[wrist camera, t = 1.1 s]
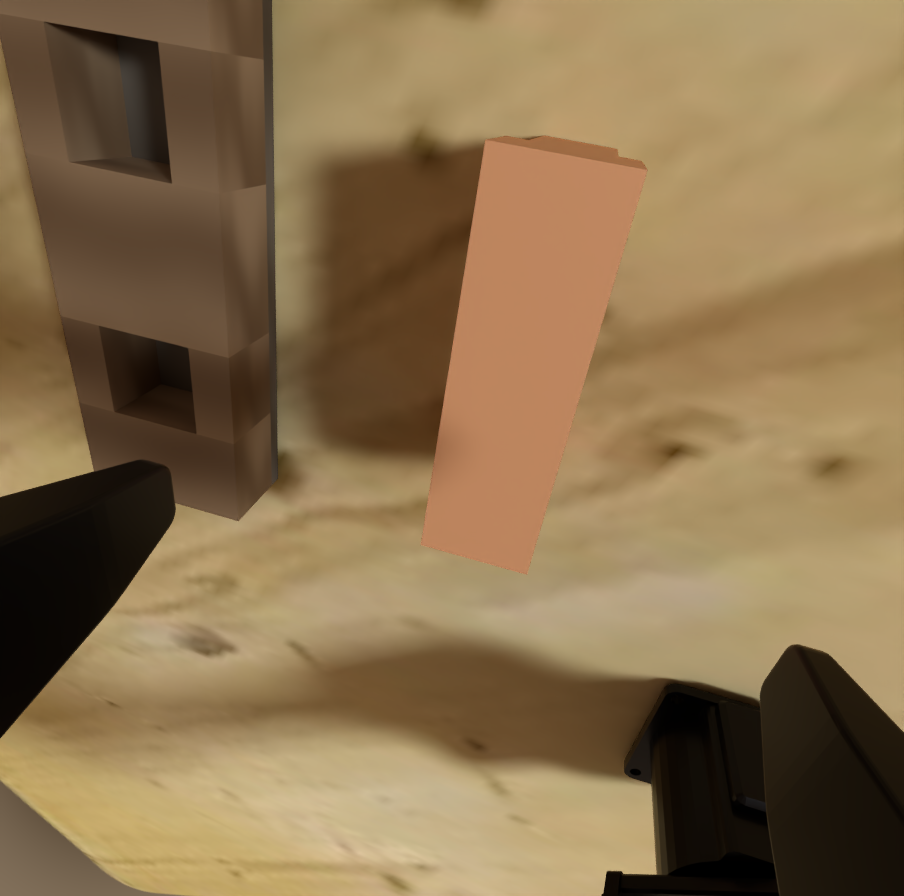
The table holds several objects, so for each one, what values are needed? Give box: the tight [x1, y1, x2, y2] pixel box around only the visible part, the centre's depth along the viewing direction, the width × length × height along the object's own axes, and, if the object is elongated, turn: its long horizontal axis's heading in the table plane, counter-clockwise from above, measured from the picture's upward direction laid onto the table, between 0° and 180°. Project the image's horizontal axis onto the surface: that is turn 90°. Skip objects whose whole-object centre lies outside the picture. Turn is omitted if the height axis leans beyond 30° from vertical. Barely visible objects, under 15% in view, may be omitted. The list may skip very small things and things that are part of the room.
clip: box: [421, 136, 648, 574], centre depth 16 cm, size 10×3×6 cm, turn 171°
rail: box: [0, 0, 278, 521], centre depth 18 cm, size 18×6×3 cm, turn 171°
